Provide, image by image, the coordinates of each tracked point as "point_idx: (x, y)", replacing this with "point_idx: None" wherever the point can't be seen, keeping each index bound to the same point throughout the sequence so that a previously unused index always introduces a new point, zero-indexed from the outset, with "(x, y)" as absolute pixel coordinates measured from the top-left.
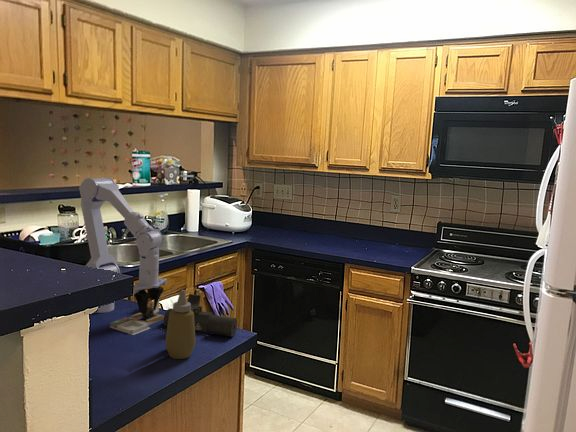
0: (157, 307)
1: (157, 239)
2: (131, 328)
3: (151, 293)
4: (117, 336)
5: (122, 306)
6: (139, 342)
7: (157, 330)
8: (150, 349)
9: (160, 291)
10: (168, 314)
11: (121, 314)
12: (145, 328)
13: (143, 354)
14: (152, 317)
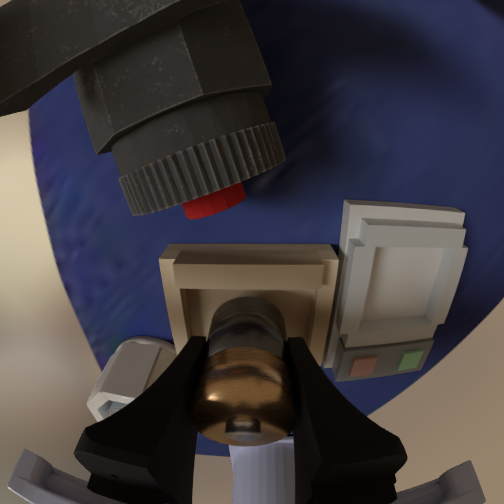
0: (125, 362)
1: None
2: (406, 282)
3: (184, 459)
4: None
5: None
6: (472, 149)
7: (309, 175)
8: (488, 64)
9: (129, 442)
10: (254, 134)
11: None
12: (383, 219)
13: None
14: (243, 297)
